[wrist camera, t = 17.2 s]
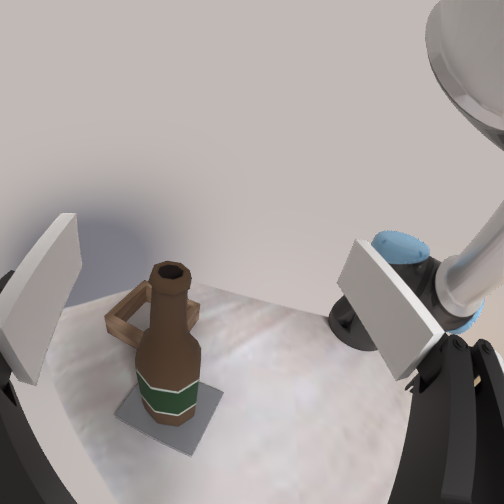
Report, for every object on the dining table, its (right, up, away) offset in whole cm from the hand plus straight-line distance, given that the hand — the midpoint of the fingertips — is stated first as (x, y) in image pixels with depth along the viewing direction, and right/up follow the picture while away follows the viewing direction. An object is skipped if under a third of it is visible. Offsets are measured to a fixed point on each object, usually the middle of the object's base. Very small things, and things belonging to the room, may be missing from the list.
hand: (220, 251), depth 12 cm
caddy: (-16, -13, +35) cm, 41 cm away
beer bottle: (-10, -22, +22) cm, 33 cm away
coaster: (-10, -22, +22) cm, 33 cm away
